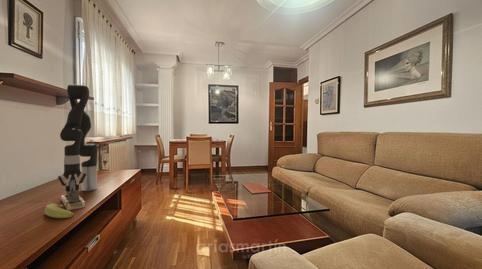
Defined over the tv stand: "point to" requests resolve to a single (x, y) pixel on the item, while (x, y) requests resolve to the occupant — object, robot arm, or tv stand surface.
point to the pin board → (73, 200)
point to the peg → (72, 186)
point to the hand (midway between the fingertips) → (72, 191)
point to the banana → (57, 211)
